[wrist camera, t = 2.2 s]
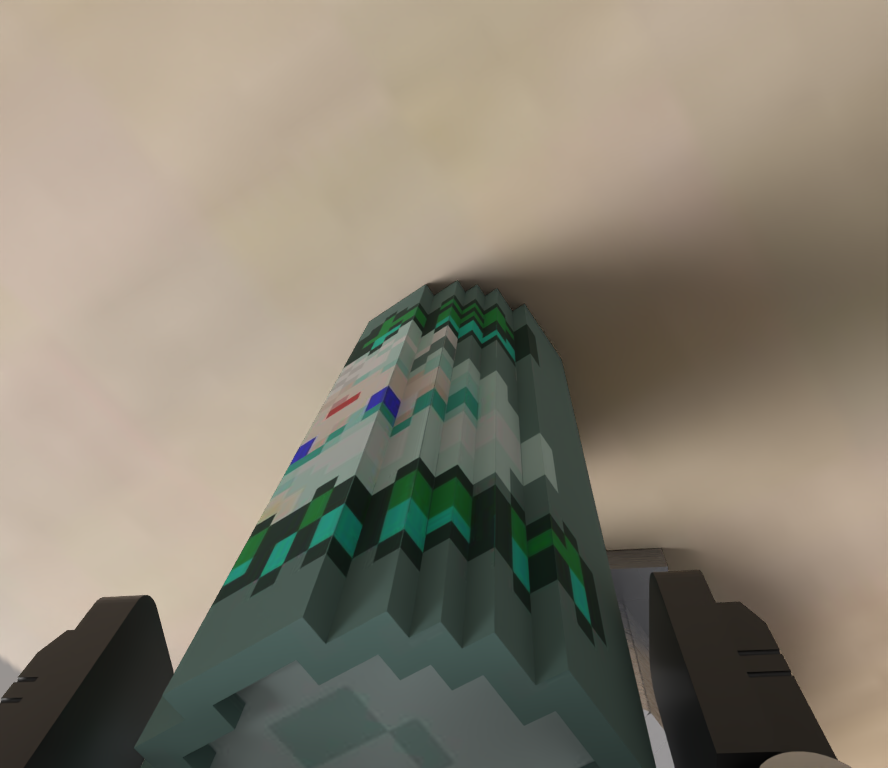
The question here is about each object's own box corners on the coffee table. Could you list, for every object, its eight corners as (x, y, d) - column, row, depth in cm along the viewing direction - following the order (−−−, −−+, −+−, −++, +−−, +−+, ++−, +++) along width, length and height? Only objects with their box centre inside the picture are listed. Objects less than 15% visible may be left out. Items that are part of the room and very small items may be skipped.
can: (485, 244, 22) (462, 528, 8) (597, 413, 23) (745, 904, 9) (314, 357, 23) (37, 764, 9) (430, 509, 25) (342, 1053, 11)
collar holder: (661, 548, 25) (704, 668, 20) (662, 785, 28) (698, 940, 23) (352, 563, 26) (316, 682, 21) (390, 791, 29) (367, 941, 24)
